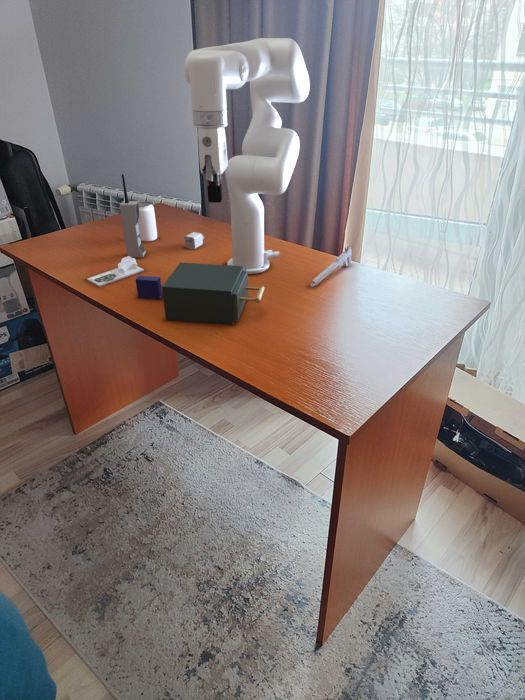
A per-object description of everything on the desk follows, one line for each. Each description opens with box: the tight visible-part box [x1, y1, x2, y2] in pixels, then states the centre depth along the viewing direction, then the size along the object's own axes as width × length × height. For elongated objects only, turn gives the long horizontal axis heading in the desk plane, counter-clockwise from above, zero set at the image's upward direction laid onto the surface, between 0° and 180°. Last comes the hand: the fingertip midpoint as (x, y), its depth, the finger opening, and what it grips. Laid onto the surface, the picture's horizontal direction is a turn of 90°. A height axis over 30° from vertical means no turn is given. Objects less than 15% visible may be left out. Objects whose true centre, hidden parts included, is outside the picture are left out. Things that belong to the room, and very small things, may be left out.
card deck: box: [134, 275, 163, 300], centre depth 132 cm, size 6×2×5 cm, turn 81°
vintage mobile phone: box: [118, 173, 147, 259], centre depth 151 cm, size 4×5×25 cm
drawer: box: [232, 271, 266, 322], centre depth 124 cm, size 20×14×7 cm, turn 81°
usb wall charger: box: [184, 231, 206, 250], centre depth 164 cm, size 4×7×4 cm, turn 150°
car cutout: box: [86, 255, 145, 288], centre depth 144 cm, size 15×7×4 cm, turn 137°
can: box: [138, 200, 158, 243], centre depth 167 cm, size 6×6×12 cm
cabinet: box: [161, 262, 244, 326], centre depth 125 cm, size 17×15×9 cm
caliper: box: [309, 245, 353, 288], centre depth 142 cm, size 20×1×6 cm, turn 141°
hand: (215, 201), depth 120 cm, fingers closed
